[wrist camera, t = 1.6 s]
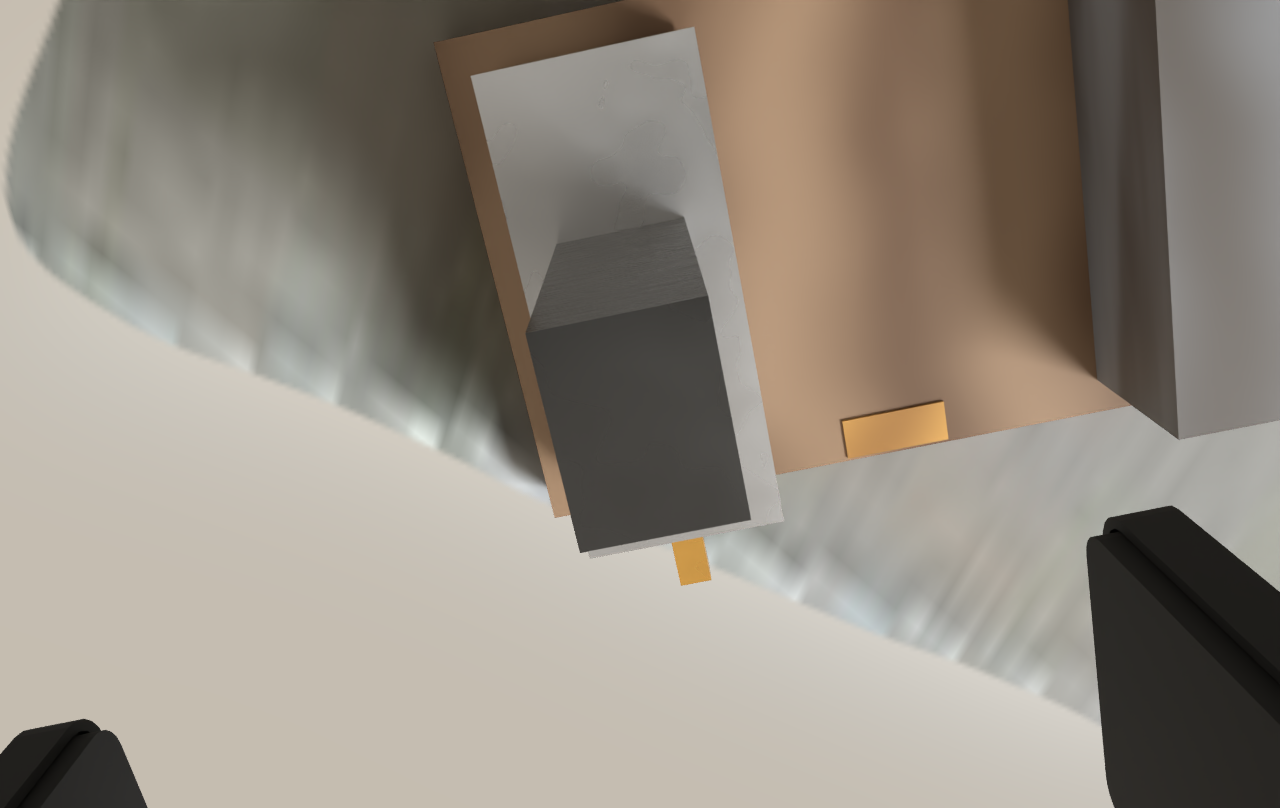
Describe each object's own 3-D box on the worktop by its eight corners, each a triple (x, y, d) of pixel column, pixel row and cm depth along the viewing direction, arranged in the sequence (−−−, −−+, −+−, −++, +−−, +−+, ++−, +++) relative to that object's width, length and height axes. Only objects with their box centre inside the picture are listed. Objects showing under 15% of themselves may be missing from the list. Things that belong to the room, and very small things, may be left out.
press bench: (1311, -150, 29) (1511, -205, 23) (1316, 342, 34) (1484, 417, 27) (445, 42, 31) (394, 43, 24) (559, 491, 35) (542, 598, 28)
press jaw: (683, 28, 28) (724, 21, 16) (769, 492, 33) (854, 769, 20) (496, 69, 29) (396, 93, 16) (605, 524, 33) (591, 816, 21)
